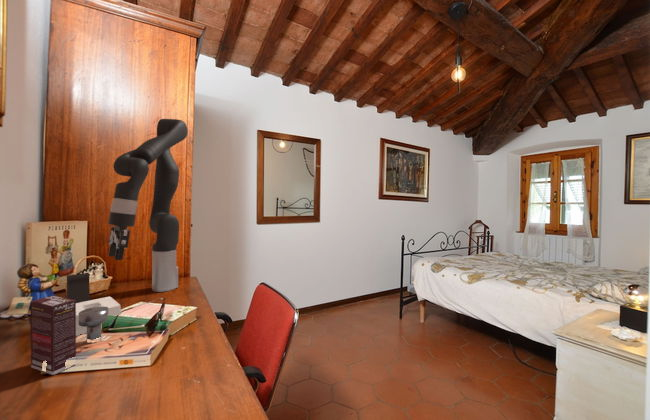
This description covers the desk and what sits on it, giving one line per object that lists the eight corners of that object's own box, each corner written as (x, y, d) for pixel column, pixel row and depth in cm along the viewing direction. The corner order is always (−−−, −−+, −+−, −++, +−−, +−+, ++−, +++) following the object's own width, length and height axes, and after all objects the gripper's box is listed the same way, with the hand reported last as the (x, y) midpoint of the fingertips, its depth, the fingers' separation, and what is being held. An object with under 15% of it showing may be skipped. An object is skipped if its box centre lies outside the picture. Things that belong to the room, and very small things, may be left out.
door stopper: (90, 308, 101) (90, 275, 100) (67, 313, 96) (67, 278, 96) (87, 301, 107) (87, 270, 107) (66, 305, 103) (66, 273, 102)
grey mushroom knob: (105, 333, 83) (105, 304, 83) (111, 340, 79) (111, 310, 79) (76, 341, 78) (76, 311, 78) (81, 349, 74) (81, 317, 74)
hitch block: (110, 313, 97) (110, 296, 97) (120, 323, 89) (120, 305, 89) (63, 324, 88) (62, 305, 87) (70, 337, 80) (70, 316, 80)
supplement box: (77, 364, 67) (77, 299, 67) (52, 376, 63) (51, 306, 62) (55, 357, 70) (54, 294, 70) (29, 367, 66) (28, 301, 65)
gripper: (142, 214, 98) (133, 261, 96) (129, 212, 107) (122, 255, 106) (116, 211, 92) (106, 261, 91) (105, 210, 101) (97, 254, 100)
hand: (115, 258), depth 98 cm, fingers open, 8 cm apart
